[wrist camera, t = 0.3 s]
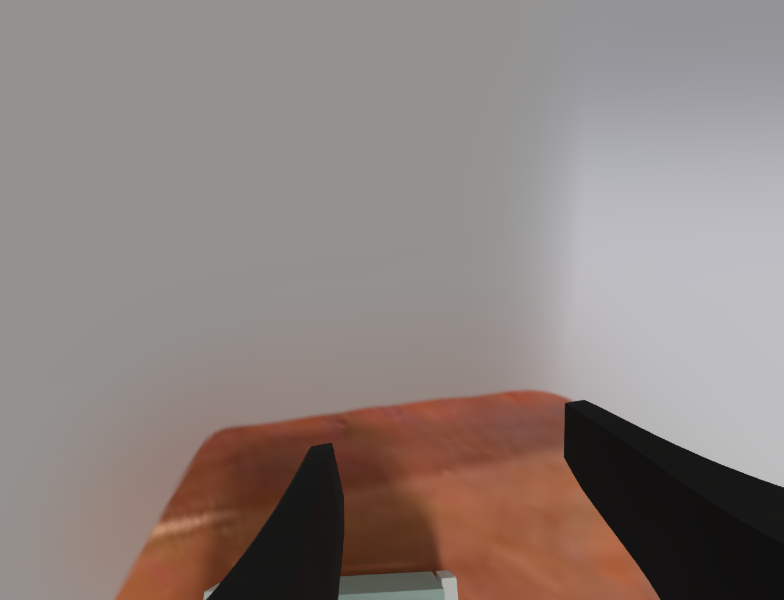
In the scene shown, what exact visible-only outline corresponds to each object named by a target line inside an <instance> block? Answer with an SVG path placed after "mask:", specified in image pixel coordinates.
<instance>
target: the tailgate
mask: <svg viewBox="0 0 784 600" xmlns="http://www.w3.org/2000/svg"><path fill="white" fill-rule="evenodd" d="M338 600H445V595H444V588H443V587H442V585H441V584H440V582H439V581H438V580H437V578H436V577H435V575H434V574H433V573H432V571H428V572H410V573H392V574H374V575H356V576H340V585H339V596H338Z"/></svg>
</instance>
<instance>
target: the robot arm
mask: <svg viewBox="0 0 784 600" xmlns="http://www.w3.org/2000/svg"><path fill="white" fill-rule="evenodd" d="M564 458H565V460H566V462H567V463H568V465H569V467H570V469H571V471H572V473H573V474H574V476H575V478H576V480H577V481H578V483H579V485H580V486H581V488H582V490H583V491H584V492H585V494H586V495H587V497H588V498H589V499H590V501H591V502H592V503H593V505H594V506H595V508H596V509H597V510H598V512H599V513H600V514H601V516H602V517H603V518H604V520H605V521H606V522H607V524H608V525H609V527H610V528H611V529H612V531H613V532H614V533H615V535H616V536H617V537H618V539H619V540H620V541H621V543H622V544H623V545H624V547H625V548H626V549H627V551H628V552H629V553H630V555H631V556H632V558H633V559H634V560H635V562H636V563H637V564H638V566H639V567H640V569H641V570H642V572H643V573H644V574H645V576H646V577H647V579H648V580H649V582H650V583H651V585H652V587H653V588H654V590H655V591H656V593H657V595H658V596H659V598H660V600H784V487H781V486H777V485H774V484H772V483H769V482H766V481H763V480H760V479H758V478H755V477H752V476H749V475H747V474H744V473H742V472H739V471H737V470H734V469H731V468H729V467H726V466H724V465H721V464H719V463H716V462H714V461H711V460H709V459H707V458H704V457H702V456H699V455H698V454H695V453H693V452H691V451H689V450H686V449H684V448H682V447H680V446H677V445H675V444H673V443H671V442H669V441H667V440H665V439H662V438H660V437H658V436H656V435H654V434H652V433H650V432H648V431H646V430H644V429H642V428H640V427H638V426H636V425H634V424H632V423H630V422H628V421H626V420H624V419H622V418H620V417H618V416H616V415H614V414H612V413H611V412H608V411H607V410H604V409H603V408H600V407H599V406H597V405H594V404H592V403H590V402H588V401H586V400H581V401H575V402H569V403H565V434H564ZM343 541H344V495H343V491H342V486H341V482H340V477H339V473H338V468H337V463H336V459H335V454H334V450H333V445H332V443H328V444H322V445H316V446H312V447H311V448H310V449H309V450H308V452H307V454H306V456H305V458H304V460H303V462H302V464H301V466H300V467H299V469H298V471H297V473H296V475H295V476H294V478H293V480H292V482H291V484H290V485H289V487H288V489H287V490H286V492H285V494H284V495H283V497H282V498H281V500H280V502H279V503H278V505H277V507H276V508H275V510H274V511H273V513H272V514H271V516H270V517H269V519H268V520H267V522H266V523H265V525H264V526H263V528H262V529H261V531H260V532H259V534H258V535H257V537H256V538H255V539H254V541H253V542H252V543H251V545H250V546H249V548H248V549H247V550H246V552H245V553H244V554H243V556H242V557H241V558H240V559H239V561H238V562H237V563H236V565H235V566H234V567H233V568H232V570H231V571H230V572H229V573H228V575H227V576H226V577H225V578H224V579H223V580H222V582H221V583H220V584H219V585H218V586H217V588H216V589H215V590H214V591H213V592H212V593H211V595H210V596H209V597H208V598H207V599H206V600H338V596H339V585H340V575H341V564H342V553H343Z"/></svg>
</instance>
